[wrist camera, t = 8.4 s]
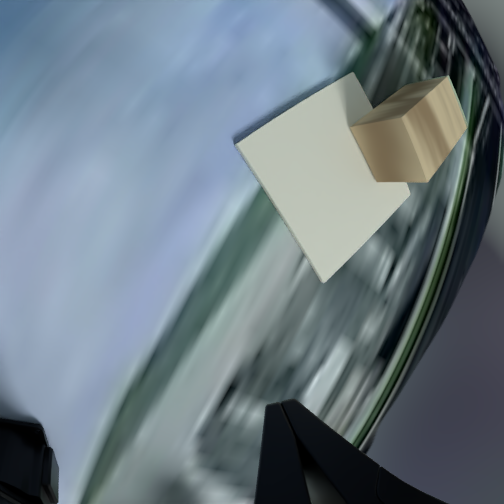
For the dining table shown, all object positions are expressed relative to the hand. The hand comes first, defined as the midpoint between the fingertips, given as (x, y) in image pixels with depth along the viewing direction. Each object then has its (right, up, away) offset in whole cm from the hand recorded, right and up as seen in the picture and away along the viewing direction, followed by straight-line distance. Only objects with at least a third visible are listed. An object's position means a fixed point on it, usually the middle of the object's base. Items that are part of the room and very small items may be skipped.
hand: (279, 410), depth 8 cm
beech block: (+9, +11, +12) cm, 19 cm away
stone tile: (+6, +10, +15) cm, 19 cm away
